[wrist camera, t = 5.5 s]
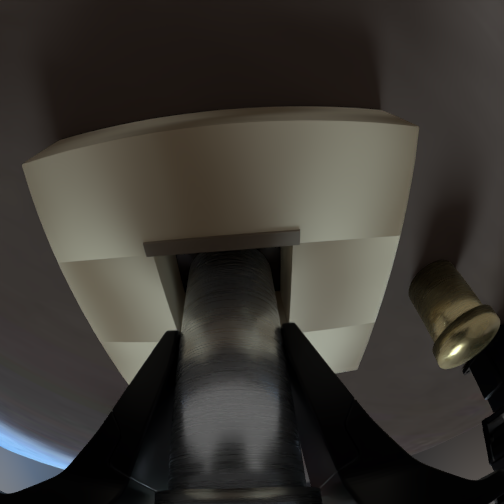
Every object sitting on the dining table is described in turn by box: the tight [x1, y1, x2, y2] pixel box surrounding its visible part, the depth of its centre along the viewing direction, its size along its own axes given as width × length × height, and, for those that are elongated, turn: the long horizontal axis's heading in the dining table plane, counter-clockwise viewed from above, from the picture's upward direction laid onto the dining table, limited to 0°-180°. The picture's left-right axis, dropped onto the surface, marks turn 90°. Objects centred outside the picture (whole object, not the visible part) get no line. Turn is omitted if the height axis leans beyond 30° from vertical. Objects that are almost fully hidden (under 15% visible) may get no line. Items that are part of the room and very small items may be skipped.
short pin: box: [409, 260, 500, 369], centre depth 13 cm, size 4×4×5 cm
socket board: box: [22, 106, 419, 384], centre depth 12 cm, size 12×12×3 cm
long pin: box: [154, 249, 323, 504], centre depth 8 cm, size 4×4×9 cm
